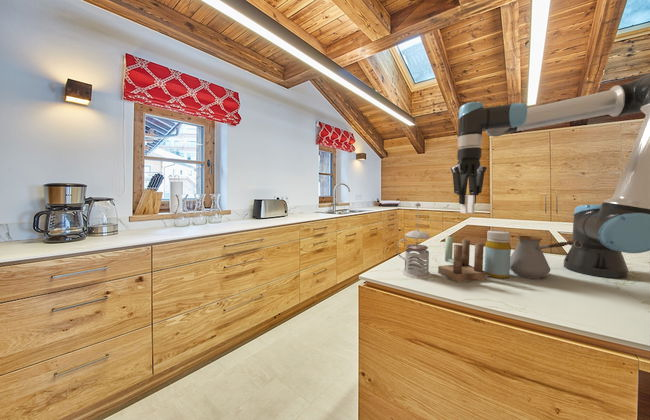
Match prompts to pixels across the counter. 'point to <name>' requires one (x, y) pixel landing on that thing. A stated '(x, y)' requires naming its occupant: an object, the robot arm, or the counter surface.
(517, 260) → the coffee pot
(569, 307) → the counter surface
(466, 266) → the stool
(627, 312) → the counter surface
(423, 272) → the french press
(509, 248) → the bottle
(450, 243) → the swing leg
